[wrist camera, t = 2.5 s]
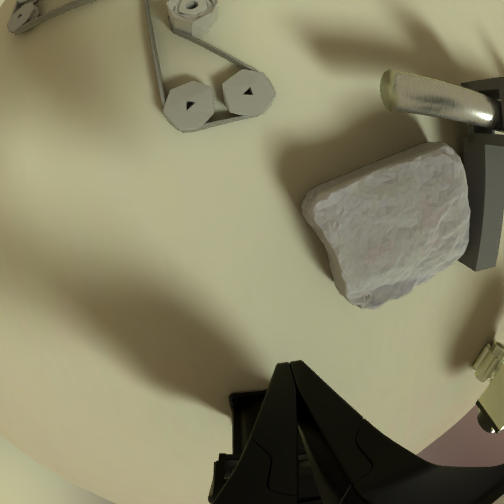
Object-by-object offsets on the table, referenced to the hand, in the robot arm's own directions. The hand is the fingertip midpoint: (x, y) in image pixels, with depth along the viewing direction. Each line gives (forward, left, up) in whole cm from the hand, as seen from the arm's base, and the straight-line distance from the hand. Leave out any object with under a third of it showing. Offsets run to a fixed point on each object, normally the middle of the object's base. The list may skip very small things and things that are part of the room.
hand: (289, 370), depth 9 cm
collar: (+18, +5, -10) cm, 21 cm away
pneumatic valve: (+29, -18, -11) cm, 36 cm away
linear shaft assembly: (+19, +10, -10) cm, 24 cm away
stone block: (+10, +1, -11) cm, 15 cm away
